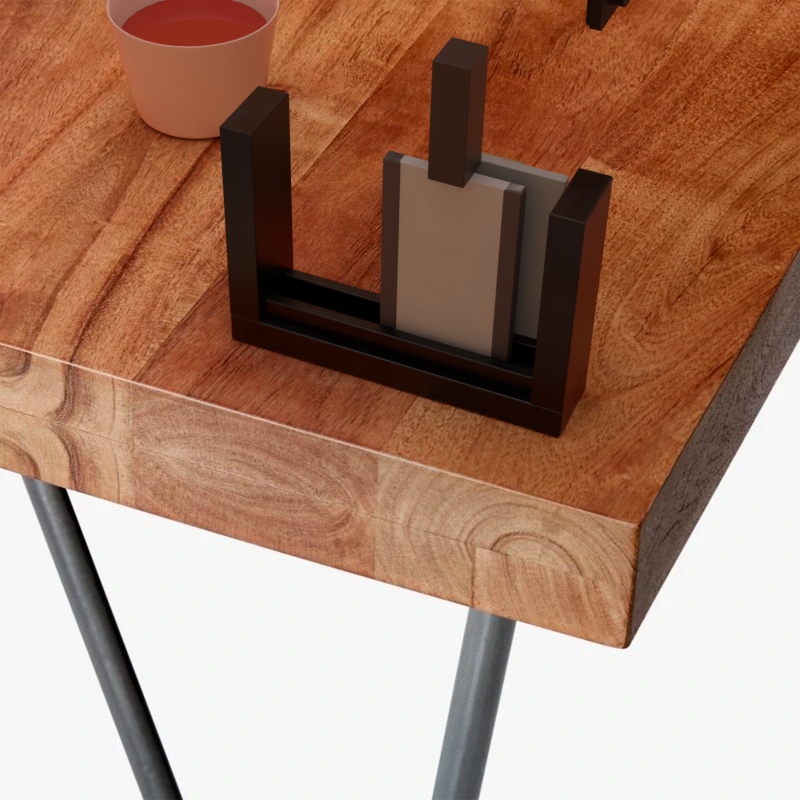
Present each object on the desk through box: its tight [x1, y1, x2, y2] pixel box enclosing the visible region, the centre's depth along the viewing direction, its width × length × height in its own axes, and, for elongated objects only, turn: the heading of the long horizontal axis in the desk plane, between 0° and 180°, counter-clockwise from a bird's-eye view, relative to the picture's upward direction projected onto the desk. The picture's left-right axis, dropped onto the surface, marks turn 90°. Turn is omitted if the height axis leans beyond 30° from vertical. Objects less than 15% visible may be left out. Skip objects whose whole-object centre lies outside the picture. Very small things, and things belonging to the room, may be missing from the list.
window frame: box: [219, 86, 614, 438], centre depth 72 cm, size 16×4×12 cm, turn 67°
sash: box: [379, 36, 527, 362], centre depth 69 cm, size 6×2×15 cm, turn 67°
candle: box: [105, 0, 280, 140], centre depth 89 cm, size 9×9×6 cm
